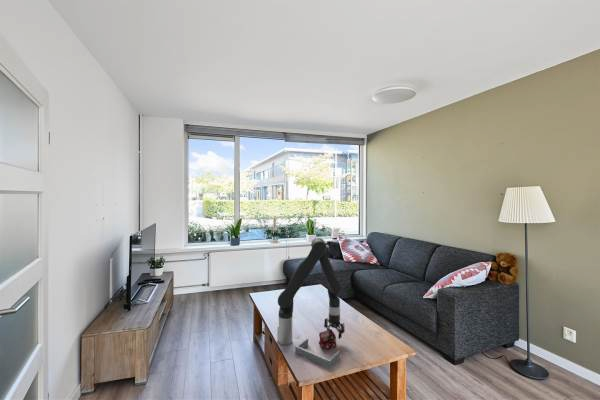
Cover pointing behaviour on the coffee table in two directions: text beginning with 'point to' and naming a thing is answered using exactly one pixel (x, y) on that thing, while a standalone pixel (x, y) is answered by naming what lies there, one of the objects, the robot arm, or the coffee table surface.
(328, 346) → the toy fire truck
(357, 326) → the coffee table surface
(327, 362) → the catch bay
